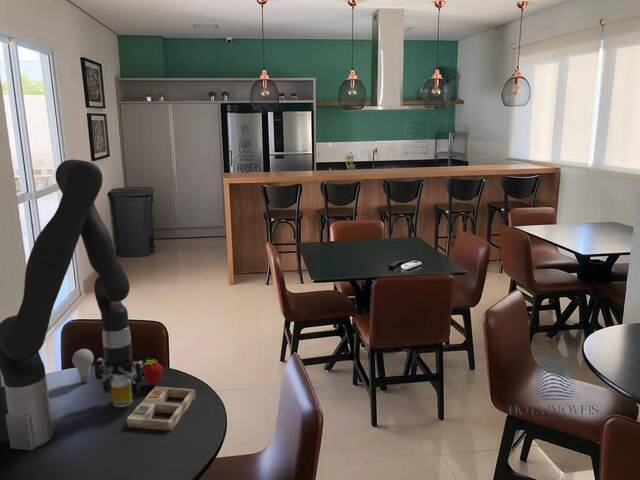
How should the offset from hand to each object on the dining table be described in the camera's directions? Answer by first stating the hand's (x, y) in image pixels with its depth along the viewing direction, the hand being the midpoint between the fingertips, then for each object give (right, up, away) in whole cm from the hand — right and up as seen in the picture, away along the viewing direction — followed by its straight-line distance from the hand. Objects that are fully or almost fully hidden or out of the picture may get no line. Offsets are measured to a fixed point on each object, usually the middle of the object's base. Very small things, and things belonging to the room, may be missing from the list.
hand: (122, 393), depth 152 cm
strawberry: (+6, -1, +11) cm, 12 cm away
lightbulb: (-16, 0, +13) cm, 21 cm away
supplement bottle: (0, -3, +1) cm, 3 cm away
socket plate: (+13, -4, -4) cm, 14 cm away
